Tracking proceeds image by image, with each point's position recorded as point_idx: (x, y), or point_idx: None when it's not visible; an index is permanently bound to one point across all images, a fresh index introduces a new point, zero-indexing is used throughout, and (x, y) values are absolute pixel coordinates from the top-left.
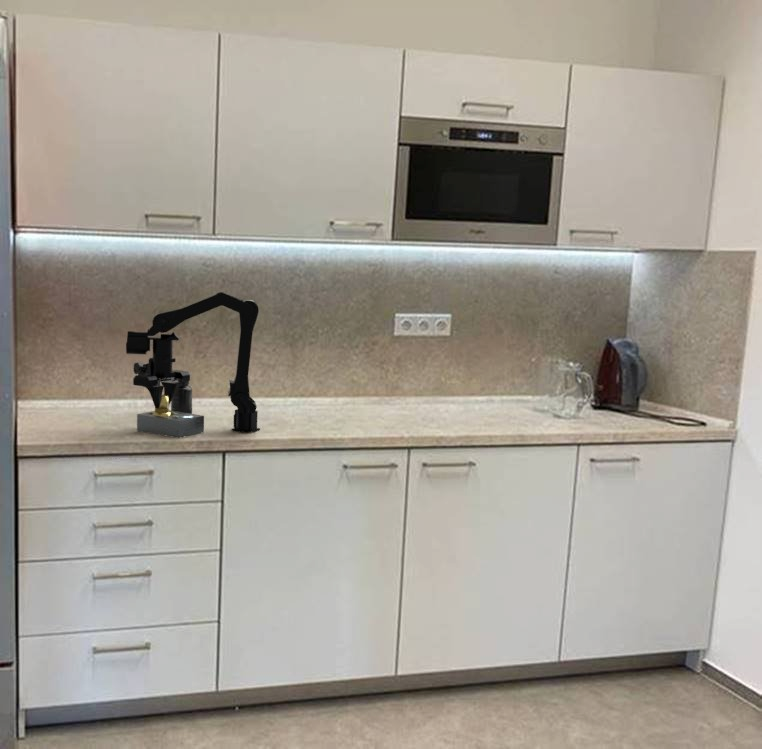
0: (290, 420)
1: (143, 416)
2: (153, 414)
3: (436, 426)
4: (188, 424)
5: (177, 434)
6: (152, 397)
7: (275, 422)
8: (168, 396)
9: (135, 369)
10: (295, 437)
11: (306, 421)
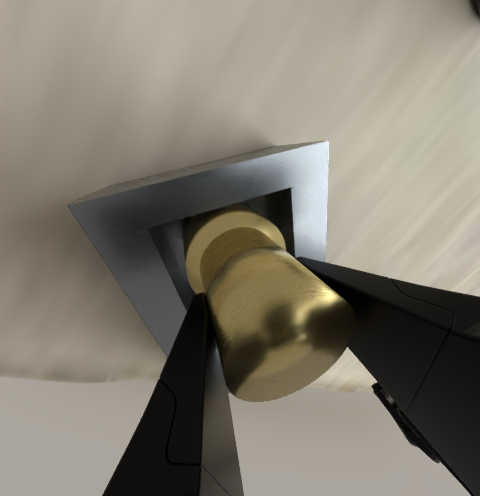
0: (471, 271)
1: (107, 258)
2: (186, 256)
3: None
4: None
5: None
6: (166, 382)
7: (448, 276)
8: (313, 373)
9: None
10: (354, 380)
11: (468, 289)
